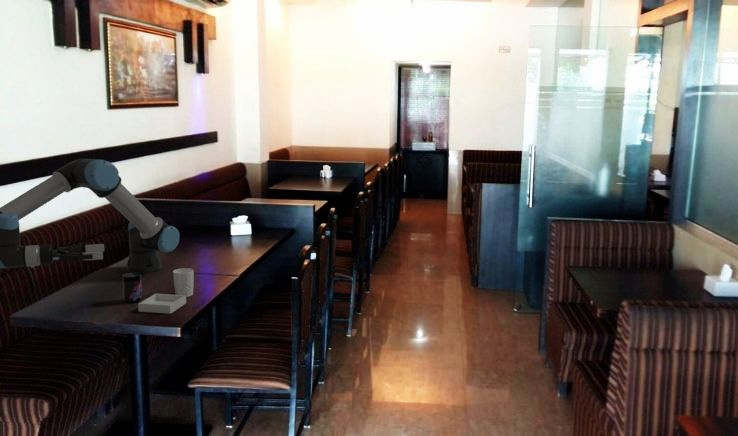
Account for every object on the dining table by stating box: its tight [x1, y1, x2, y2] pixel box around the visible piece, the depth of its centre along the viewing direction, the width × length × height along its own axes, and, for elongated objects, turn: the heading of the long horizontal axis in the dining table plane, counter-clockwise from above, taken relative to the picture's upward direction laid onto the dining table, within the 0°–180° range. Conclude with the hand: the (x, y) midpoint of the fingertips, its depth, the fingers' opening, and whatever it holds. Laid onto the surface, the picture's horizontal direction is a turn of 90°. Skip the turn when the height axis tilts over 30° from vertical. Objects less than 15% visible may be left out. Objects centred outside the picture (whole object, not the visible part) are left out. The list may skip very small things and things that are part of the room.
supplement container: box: [121, 272, 143, 304], centre depth 239 cm, size 7×7×10 cm
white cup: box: [172, 267, 195, 298], centre depth 247 cm, size 8×8×10 cm
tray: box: [137, 293, 187, 314], centre depth 233 cm, size 13×13×3 cm
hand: (103, 251), depth 233 cm, fingers open, 13 cm apart
